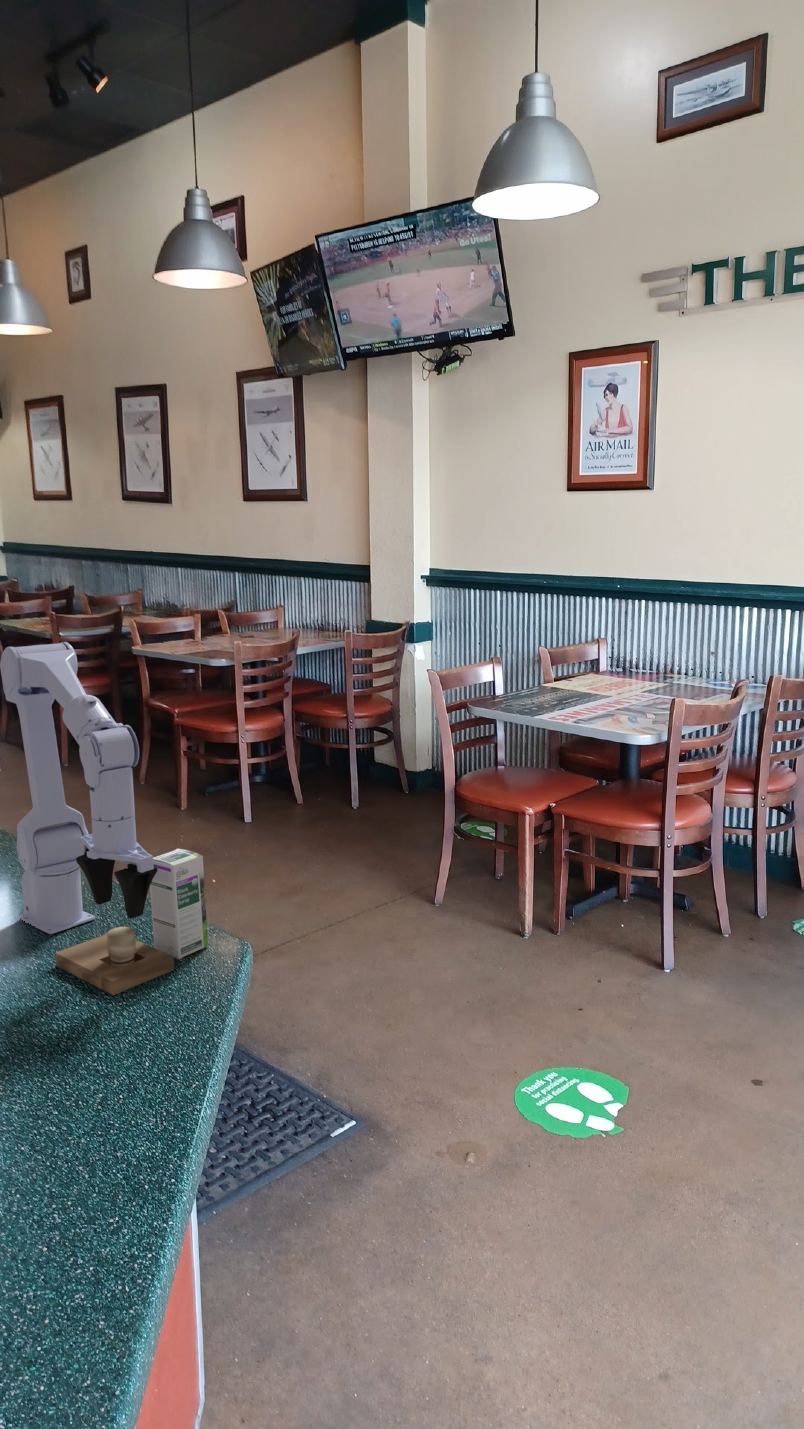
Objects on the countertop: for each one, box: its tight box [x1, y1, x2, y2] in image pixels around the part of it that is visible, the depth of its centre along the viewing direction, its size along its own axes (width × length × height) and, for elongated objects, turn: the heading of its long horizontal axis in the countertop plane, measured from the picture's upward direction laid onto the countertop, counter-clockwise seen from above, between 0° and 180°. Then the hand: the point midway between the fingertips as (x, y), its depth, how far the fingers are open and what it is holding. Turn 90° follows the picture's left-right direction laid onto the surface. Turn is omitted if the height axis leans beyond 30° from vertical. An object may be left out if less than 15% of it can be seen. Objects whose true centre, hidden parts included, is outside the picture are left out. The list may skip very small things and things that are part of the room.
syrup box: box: [149, 848, 209, 960], centre depth 148 cm, size 6×6×14 cm
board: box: [55, 933, 175, 996], centre depth 143 cm, size 14×10×2 cm
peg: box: [106, 926, 137, 969], centre depth 141 cm, size 4×4×6 cm
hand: (119, 909), depth 140 cm, fingers open, 7 cm apart
